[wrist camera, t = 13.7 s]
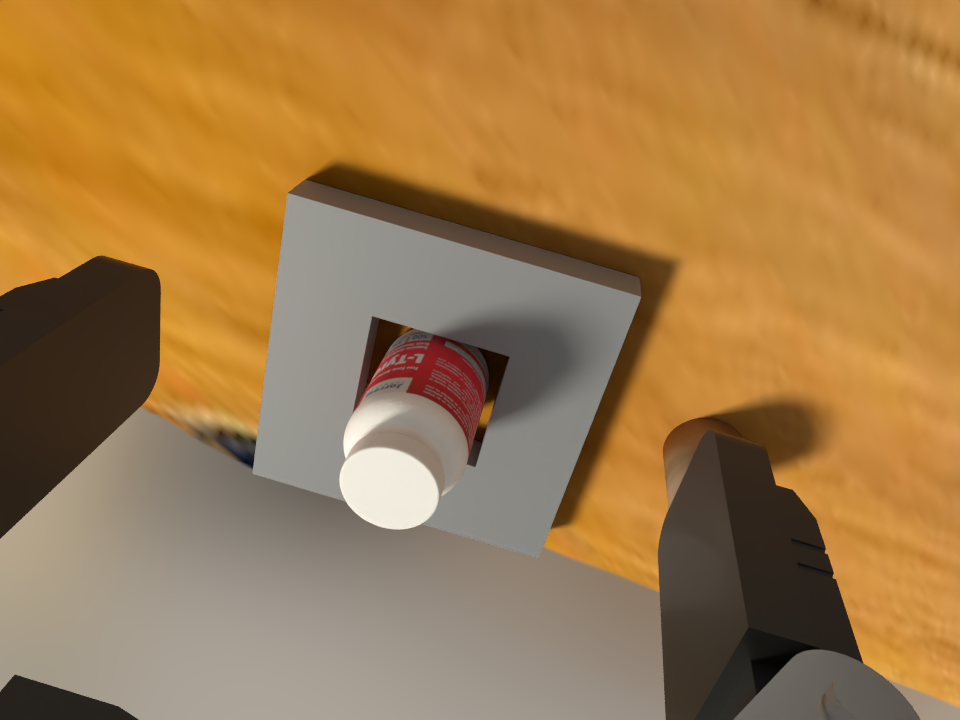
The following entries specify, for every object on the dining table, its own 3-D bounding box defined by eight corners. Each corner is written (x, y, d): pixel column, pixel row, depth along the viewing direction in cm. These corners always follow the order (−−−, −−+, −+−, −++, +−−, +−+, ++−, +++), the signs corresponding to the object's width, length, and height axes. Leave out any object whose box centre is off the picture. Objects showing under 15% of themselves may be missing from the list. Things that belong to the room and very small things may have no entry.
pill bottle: (435, 301, 42) (382, 407, 32) (513, 375, 44) (484, 498, 34) (363, 366, 45) (295, 482, 35) (439, 434, 46) (394, 563, 37)
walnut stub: (757, 431, 43) (774, 486, 39) (725, 492, 45) (737, 550, 41) (679, 408, 43) (687, 461, 39) (651, 470, 45) (656, 526, 41)
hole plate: (639, 277, 40) (641, 296, 37) (541, 531, 49) (538, 558, 46) (305, 179, 40) (287, 192, 38) (268, 450, 49) (252, 473, 47)
